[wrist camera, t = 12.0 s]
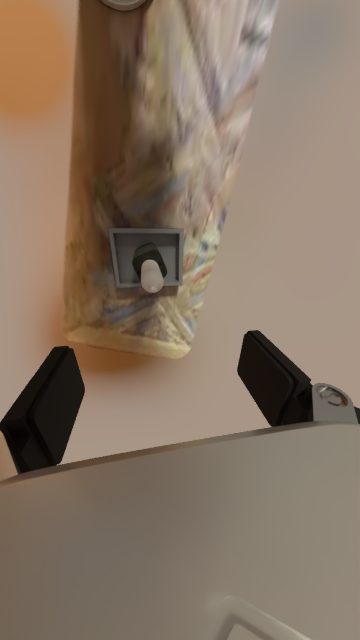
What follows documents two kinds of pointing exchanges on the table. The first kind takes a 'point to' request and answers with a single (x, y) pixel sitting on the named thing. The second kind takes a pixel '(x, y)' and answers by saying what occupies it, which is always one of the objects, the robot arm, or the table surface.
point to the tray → (132, 238)
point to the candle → (149, 267)
